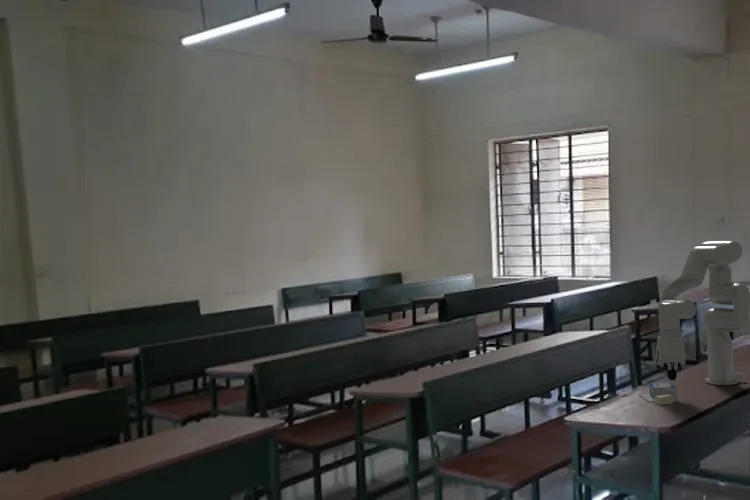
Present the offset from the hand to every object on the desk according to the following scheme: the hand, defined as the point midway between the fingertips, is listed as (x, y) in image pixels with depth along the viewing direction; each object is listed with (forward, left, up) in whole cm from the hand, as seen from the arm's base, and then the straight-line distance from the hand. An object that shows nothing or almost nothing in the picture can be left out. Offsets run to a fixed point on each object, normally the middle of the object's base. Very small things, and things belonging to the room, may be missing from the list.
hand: (672, 379), depth 280 cm
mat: (+6, 0, -7) cm, 9 cm away
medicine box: (-1, 0, -4) cm, 5 cm away
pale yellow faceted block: (+7, +9, -7) cm, 13 cm away
